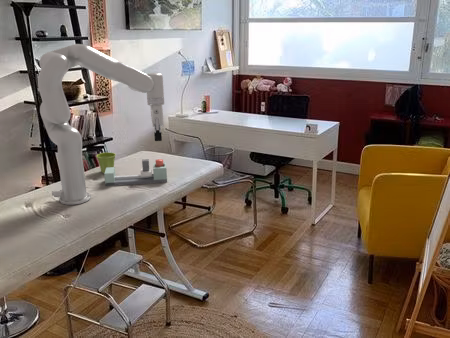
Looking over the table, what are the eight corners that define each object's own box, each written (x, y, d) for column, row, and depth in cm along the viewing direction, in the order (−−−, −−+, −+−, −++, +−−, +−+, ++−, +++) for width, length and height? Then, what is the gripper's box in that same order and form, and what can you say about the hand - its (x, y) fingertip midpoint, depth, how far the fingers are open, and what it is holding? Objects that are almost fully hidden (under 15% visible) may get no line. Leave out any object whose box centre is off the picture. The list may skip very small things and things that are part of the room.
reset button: (155, 167, 207) (155, 161, 206) (155, 165, 211) (155, 159, 210) (163, 167, 208) (163, 161, 207) (163, 165, 211) (163, 158, 210)
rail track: (105, 186, 203) (104, 171, 201) (107, 179, 212) (106, 165, 210) (167, 182, 207) (166, 167, 205) (166, 175, 216) (165, 162, 214)
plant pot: (119, 168, 227) (118, 152, 225) (113, 174, 219) (112, 157, 216) (102, 168, 228) (100, 152, 226) (95, 174, 219) (93, 157, 217)
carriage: (140, 176, 206) (139, 162, 204) (141, 172, 212) (140, 158, 210) (151, 176, 207) (150, 161, 205) (151, 172, 213) (150, 158, 210)
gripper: (164, 103, 193) (167, 144, 199) (163, 98, 207) (166, 136, 213) (147, 104, 192) (150, 145, 198) (147, 98, 206) (150, 137, 212)
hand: (158, 140), depth 205 cm, fingers closed
